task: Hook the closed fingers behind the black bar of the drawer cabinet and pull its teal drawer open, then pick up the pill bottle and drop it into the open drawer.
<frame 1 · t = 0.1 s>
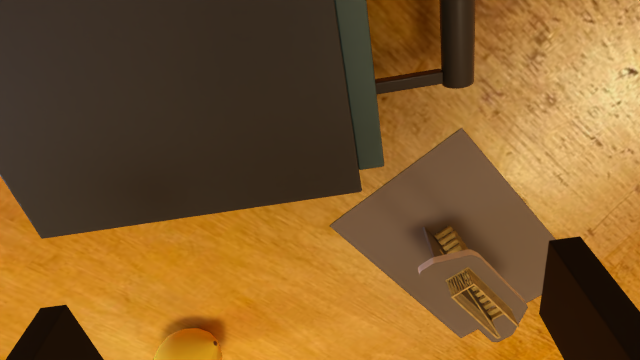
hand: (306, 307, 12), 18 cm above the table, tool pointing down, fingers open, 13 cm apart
teal drawer: (263, 38, 21), point 5 cm above the table, slide at 0.0 cm
platform: (460, 248, 35), on the table
drawer cabinet: (201, 28, 26), on the table
lemon: (195, 333, 41), on the table
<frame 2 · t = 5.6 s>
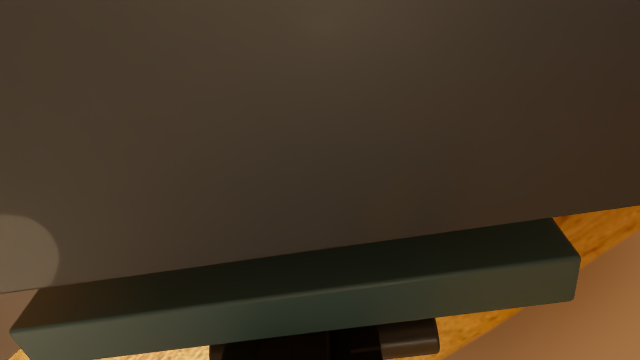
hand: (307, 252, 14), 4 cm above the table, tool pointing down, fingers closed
teal drawer: (256, 52, 10), point 5 cm above the table, slide at 1.8 cm
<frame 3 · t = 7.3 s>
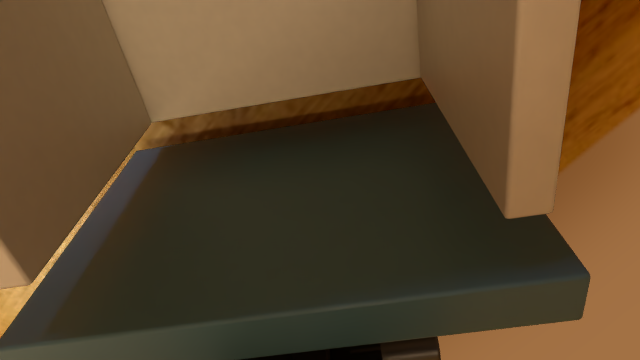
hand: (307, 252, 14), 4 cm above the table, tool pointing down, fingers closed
teal drawer: (252, 58, 10), point 5 cm above the table, slide at 9.2 cm, touching gripper
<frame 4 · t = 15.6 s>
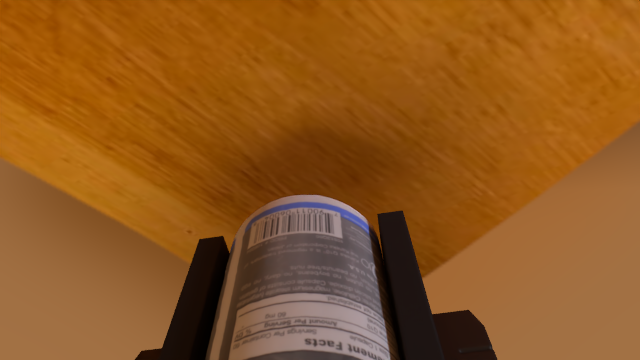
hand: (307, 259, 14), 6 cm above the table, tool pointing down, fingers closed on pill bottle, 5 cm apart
pill bottle: (307, 246, 14), point 5 cm above the table, touching gripper
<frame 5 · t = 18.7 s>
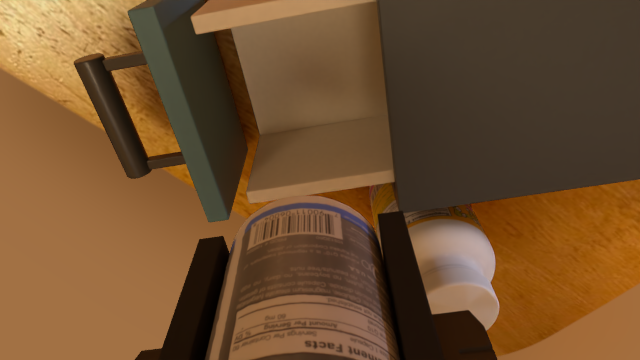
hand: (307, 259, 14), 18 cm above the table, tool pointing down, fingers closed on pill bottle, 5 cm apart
teal drawer: (274, 85, 25), point 5 cm above the table, slide at 9.2 cm
pill bottle: (307, 247, 14), point 18 cm above the table, touching gripper
drawer cabinet: (489, 22, 28), on the table
supplement bottle: (410, 184, 35), on the table
when the fingers open (6 cm above the table, at t = 21.9 s): pill bottle drops 4 cm, resting on teal drawer.
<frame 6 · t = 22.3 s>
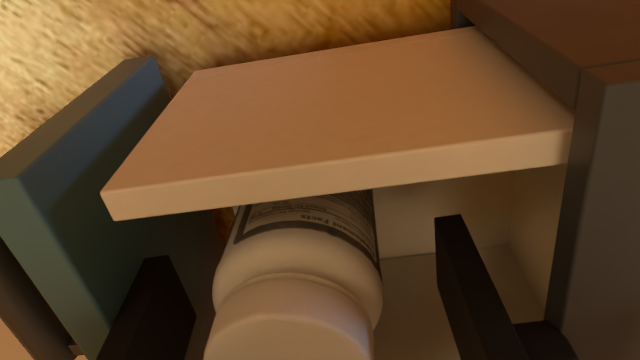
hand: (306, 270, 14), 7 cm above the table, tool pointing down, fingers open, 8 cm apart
teal drawer: (275, 240, 15), point 5 cm above the table, slide at 10.6 cm, touching pill bottle
pill bottle: (312, 183, 17), point 2 cm above the table, touching teal drawer
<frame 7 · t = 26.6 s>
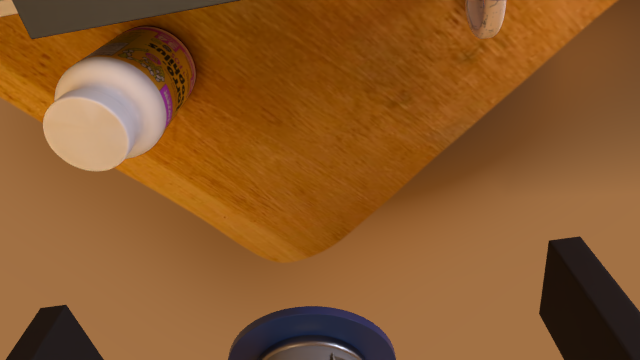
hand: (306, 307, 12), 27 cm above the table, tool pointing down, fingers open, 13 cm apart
supplement bottle: (156, 65, 36), on the table
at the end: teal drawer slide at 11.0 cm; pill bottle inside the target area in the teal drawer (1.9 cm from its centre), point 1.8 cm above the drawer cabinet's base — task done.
